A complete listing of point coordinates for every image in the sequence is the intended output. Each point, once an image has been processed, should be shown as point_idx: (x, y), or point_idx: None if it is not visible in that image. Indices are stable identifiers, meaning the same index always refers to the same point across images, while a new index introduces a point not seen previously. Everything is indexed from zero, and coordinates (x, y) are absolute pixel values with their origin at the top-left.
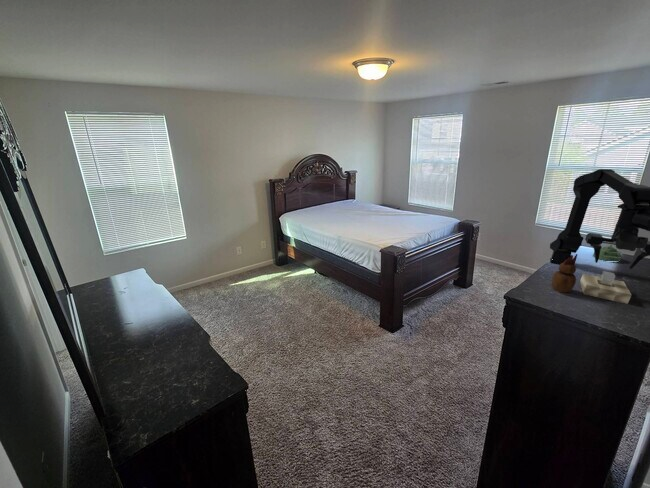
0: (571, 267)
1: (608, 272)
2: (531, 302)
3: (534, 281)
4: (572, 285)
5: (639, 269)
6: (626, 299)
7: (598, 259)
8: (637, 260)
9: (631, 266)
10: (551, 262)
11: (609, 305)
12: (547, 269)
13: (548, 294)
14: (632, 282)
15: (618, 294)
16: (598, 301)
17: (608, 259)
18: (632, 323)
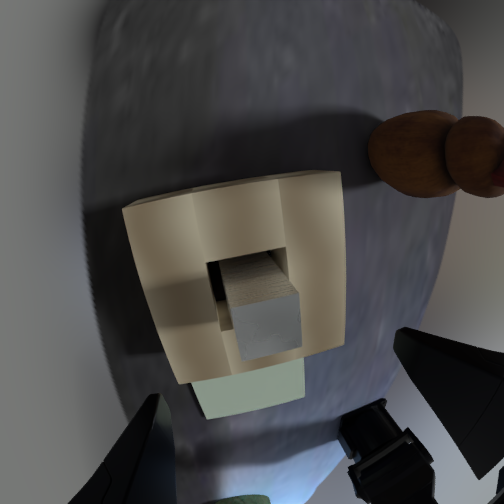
0: (489, 122)
1: (272, 348)
2: (418, 10)
3: None
4: (391, 121)
5: None
6: (142, 201)
7: (421, 343)
8: (112, 473)
9: (151, 411)
10: (384, 403)
11: (207, 123)
12: None
13: (409, 87)
14: None
15: (180, 194)
16: (252, 136)
17: (239, 501)
18: (136, 15)
